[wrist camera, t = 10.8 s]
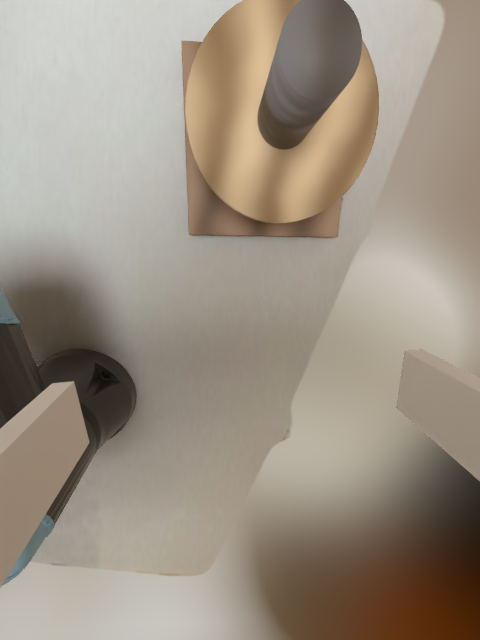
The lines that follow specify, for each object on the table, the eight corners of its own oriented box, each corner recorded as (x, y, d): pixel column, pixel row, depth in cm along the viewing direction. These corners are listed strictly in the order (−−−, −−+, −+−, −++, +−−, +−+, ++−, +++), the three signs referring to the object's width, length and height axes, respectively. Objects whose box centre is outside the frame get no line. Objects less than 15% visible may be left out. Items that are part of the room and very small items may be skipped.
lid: (190, 221, 27) (173, 208, 17) (182, -7, 22) (153, -209, 12) (357, 225, 28) (430, 215, 19) (386, 12, 23) (507, -156, 13)
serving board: (190, 234, 35) (189, 234, 34) (183, 50, 30) (181, 40, 28) (333, 237, 37) (337, 236, 35) (352, 62, 31) (358, 53, 30)
